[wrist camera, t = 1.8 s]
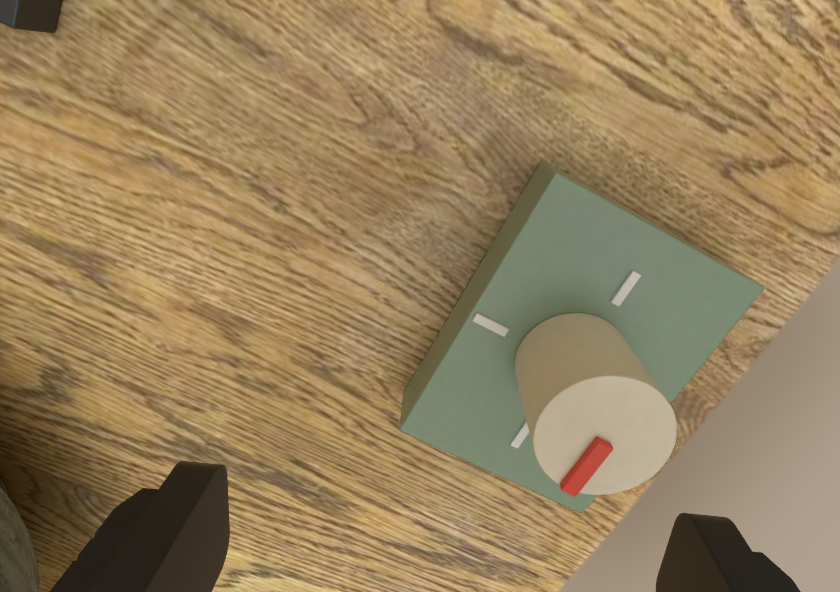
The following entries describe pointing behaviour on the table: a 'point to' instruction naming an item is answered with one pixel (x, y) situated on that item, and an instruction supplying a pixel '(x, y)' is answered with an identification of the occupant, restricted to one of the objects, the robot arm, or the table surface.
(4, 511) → the bowl
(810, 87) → the table surface
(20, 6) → the button box
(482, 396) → the dial panel
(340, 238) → the table surface
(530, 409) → the dial knob
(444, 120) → the table surface
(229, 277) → the table surface
